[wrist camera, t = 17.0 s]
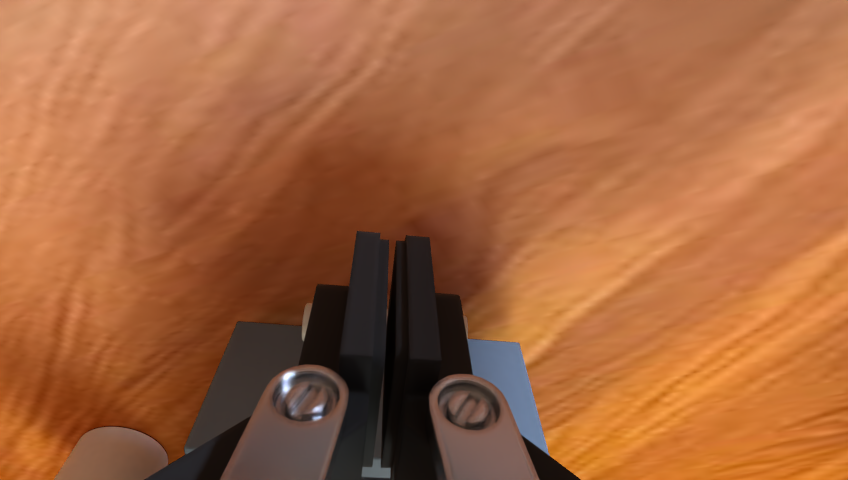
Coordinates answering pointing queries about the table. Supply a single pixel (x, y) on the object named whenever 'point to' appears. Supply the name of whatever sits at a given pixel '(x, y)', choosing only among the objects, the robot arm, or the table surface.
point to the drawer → (281, 349)
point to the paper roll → (113, 456)
